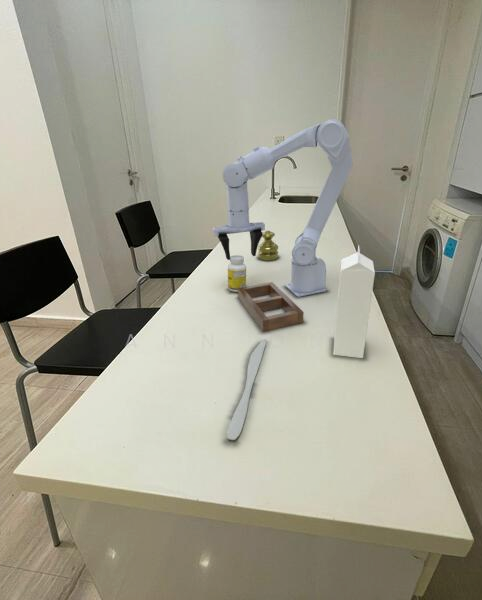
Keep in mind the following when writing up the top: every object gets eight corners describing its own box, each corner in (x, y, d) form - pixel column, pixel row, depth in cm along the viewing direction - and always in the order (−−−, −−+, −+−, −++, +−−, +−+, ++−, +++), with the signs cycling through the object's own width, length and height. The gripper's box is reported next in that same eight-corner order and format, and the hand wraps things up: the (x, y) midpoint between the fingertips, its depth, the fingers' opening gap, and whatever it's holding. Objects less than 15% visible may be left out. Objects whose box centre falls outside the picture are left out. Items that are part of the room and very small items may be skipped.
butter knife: (219, 436, 50) (238, 438, 50) (256, 340, 74) (269, 340, 73) (219, 439, 50) (238, 441, 50) (256, 342, 74) (269, 342, 73)
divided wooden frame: (272, 291, 97) (272, 281, 95) (303, 322, 80) (303, 311, 79) (238, 297, 94) (237, 288, 92) (263, 331, 77) (262, 320, 76)
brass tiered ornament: (281, 256, 124) (281, 229, 119) (271, 262, 118) (271, 235, 114) (264, 253, 127) (264, 227, 123) (254, 259, 122) (253, 232, 117)
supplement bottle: (227, 285, 101) (227, 254, 97) (245, 285, 101) (246, 254, 97) (228, 292, 96) (227, 259, 92) (246, 292, 96) (247, 259, 92)
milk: (333, 355, 68) (341, 254, 58) (334, 339, 74) (341, 243, 64) (363, 358, 67) (377, 255, 57) (362, 342, 72) (374, 244, 62)
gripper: (215, 215, 85) (219, 264, 91) (268, 209, 89) (269, 257, 95) (209, 210, 91) (214, 257, 97) (259, 205, 95) (261, 250, 101)
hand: (240, 256), depth 96 cm, fingers open, 7 cm apart
